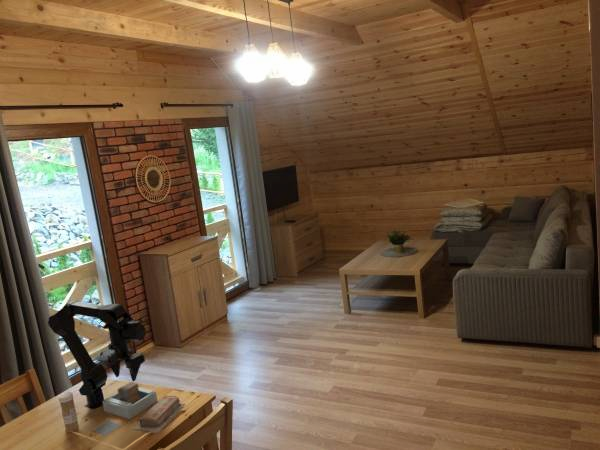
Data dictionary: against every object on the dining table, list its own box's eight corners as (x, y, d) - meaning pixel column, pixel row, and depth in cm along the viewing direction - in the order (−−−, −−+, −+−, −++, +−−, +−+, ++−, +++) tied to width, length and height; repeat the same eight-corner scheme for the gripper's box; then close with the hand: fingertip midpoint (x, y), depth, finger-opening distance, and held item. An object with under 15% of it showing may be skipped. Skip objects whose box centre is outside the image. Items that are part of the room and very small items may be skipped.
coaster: (92, 432, 182) (91, 431, 181) (108, 422, 187) (108, 420, 187) (104, 437, 178) (104, 435, 178) (121, 426, 183) (121, 424, 183)
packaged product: (160, 393, 195) (183, 394, 192) (162, 405, 196) (185, 406, 193) (131, 419, 179) (155, 421, 175) (133, 432, 180) (158, 434, 176)
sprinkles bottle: (62, 432, 184) (55, 397, 182) (72, 425, 188) (65, 390, 186) (72, 433, 182) (65, 398, 180) (82, 426, 186) (75, 391, 184)
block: (121, 409, 195) (117, 389, 193) (133, 401, 200) (130, 381, 198) (128, 411, 193) (124, 391, 191) (141, 403, 197) (137, 383, 196)
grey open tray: (104, 412, 195) (102, 400, 194) (132, 395, 205) (130, 384, 205) (129, 420, 187) (127, 407, 186) (157, 402, 198) (155, 390, 197)
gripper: (83, 344, 190) (91, 384, 193) (117, 351, 180) (124, 393, 182) (109, 332, 199) (116, 371, 202) (142, 339, 189) (149, 379, 192)
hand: (125, 378), depth 194 cm, fingers open, 9 cm apart
